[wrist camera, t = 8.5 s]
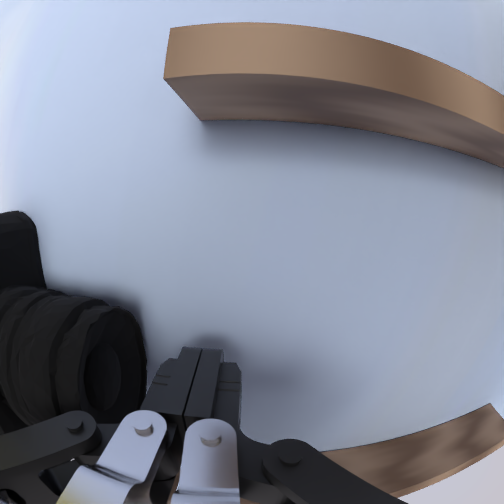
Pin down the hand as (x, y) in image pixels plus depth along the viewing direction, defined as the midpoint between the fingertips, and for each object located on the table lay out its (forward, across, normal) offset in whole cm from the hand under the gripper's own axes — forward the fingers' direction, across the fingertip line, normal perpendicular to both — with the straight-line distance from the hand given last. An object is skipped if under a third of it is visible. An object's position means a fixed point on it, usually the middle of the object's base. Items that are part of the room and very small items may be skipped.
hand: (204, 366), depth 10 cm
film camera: (+2, +8, +1) cm, 8 cm away
